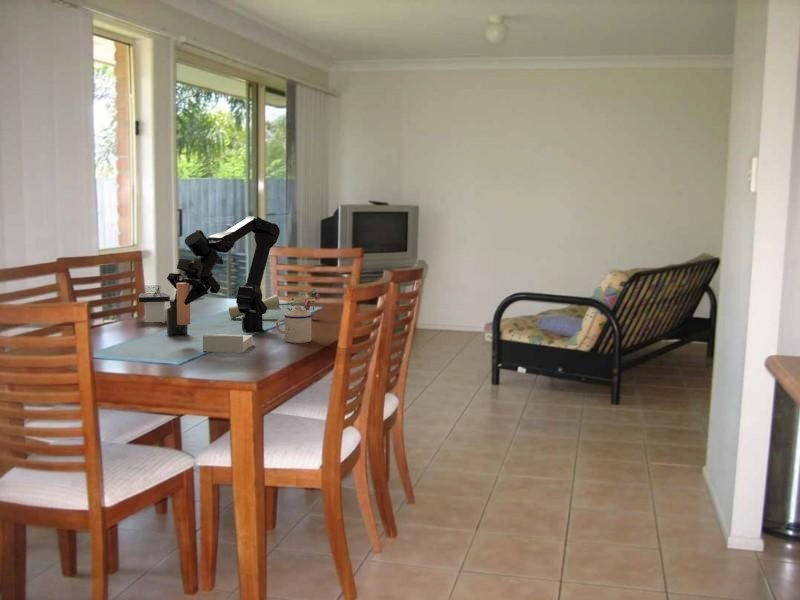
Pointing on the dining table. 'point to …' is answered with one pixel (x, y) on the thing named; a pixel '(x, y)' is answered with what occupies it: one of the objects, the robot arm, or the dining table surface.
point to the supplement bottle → (174, 321)
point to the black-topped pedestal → (154, 305)
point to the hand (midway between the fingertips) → (180, 303)
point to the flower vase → (274, 304)
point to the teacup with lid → (297, 326)
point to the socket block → (226, 343)
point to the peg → (183, 304)
